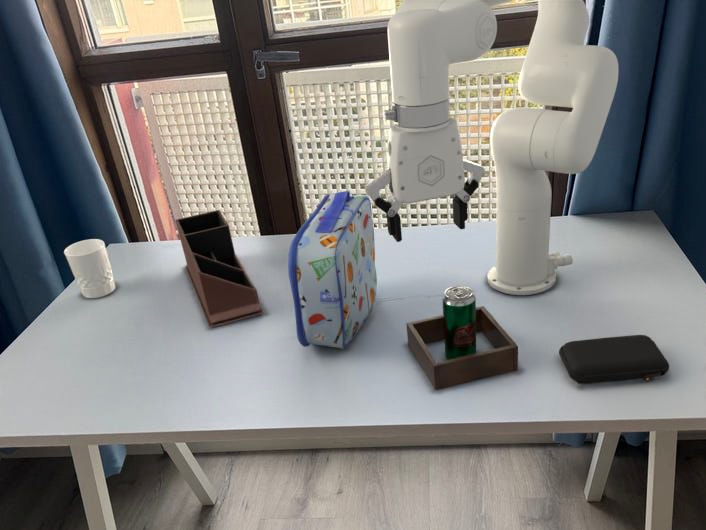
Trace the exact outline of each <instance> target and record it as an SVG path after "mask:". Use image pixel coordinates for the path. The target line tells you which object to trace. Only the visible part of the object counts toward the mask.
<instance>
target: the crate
mask: <svg viewBox="0 0 706 530" xmlns="http://www.w3.org/2000/svg"><path fill="white" fill-rule="evenodd" d="M405 325H406V337H407V346H408V348H409V350H410V352H411V353H412V355H413V356H414V358H415V360H416V361H417V363H418V365H419V366H420V368H421V370H422V371H423V373H424V374H425V376H426V378H427V380H428V381H429V383H430V384H431V386H432V387H433V389H434V391H439V390H443V389H447V388H451V387H456V386H459V385H464V384H467V383H471V382H476V381H480V380H484V379H488V378H493V377H496V376H501V375H505V374H509V373H510V374H511V373H514V372H517V371H518V370H519V345H518V344H517V343H516V342H515V341H514V340H513V338H512V337H511V336H510V335H509V333H507V331H506V330H505V329H504V328H503V327H502V326H501V324H500V323H499V322H498V321H497V320H496V319H495V317H494V316H493V315H492V314H491V313H490V312H489V310H488V309H487V308H486V307H485V306H484V305H481V306H476V334H477V333H481V334H482V335H483V336H484V337H485V339H486V340H487V341H488V342H489V343H490V345H491V346H492V347H493V348H494V349H488V350H485V351H481V352H477V353H476V354H472V355H467V356H463V357H459V358H454V359H450V360H447V359H446V360H442V361H438V362H437V360H436V359H435V357H434V356H433V354H432V353H431V351H430V350H429V348H428V347H427V345H429V344H435V343H438V342H443V341H444V323H443V314H440V315H435V316H432V317H428V318H423V319H419V320H414V321H411V322H406V324H405Z"/></svg>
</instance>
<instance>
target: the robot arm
mask: <svg viewBox="0 0 706 530" xmlns="http://www.w3.org/2000/svg"><path fill="white" fill-rule="evenodd" d="M510 2H513V0H402V1H401V2H400V4H399V5H398V7H397V9H396V10H395V13H394V14H393V15H392V16H391V17H390V19H389V20H388V23H387V42H388V55H389V56H388V57H389V68H390V69H389V70H390V71H389V72H390V82H391V95H392V101H391V106H390V108H388V109H385V110H383V111H382V116H383V117H382V118H383V120H384V122H386V121H390V122H393V124H391V125H390V126H389V134H388V143H387V144H388V146H387V170H385V171H384V172H383V173H381V174H380V175H379V176H377V177H376V178H375V179H373V180H372V181H371V182H369V183H368V184H367V185H366V186H365V188H364V190H365V192H366V194H367V196H369V199H370V200H371V201H372V202H373V204H374V205H375V206H376V207H377V208H378V209H379V210H381V211H382V212H384V213H385V215H386V224H387V225H386V226H387V232H388V235H389V236H392V238H393V239H394V240H395V242H396V243H400V242H401V241H402V240H403V237H402V236H403V234H402V222H401V221H402V220H401V215H400V214H399V213H398V212H399V210H400V209H401V207H402V206H403V204H406V205H407V204H413V203H421V202H424V201H425V202H426V201H431V200H437V199H441V198H446V197H450V196H453V198H452V221H453V222H452V223H453V224H454V225H455V226H456V227H457V228H458V229H459V230H465V229H466V221H468V203H469V202H470V201H471V197H472V195H473V194H474V193H475V192H476V191H477V189H478V188H479V186H480V185H479V184H480V182H481V180H482V178H483V175H484V173H485V167H483V166H482V165H481V164H479V163H476V162H473V161H469V160H468V159H464V155H463V148H462V142H461V135H460V130H459V126H458V121H457V119H455V118H453V117H452V116H451V105H450V104H451V100H450V66H451V65H456V64H464V63H472V62H475V61H477V60H479V59H481V58H483V56H485V55H486V54H487V53H488V52H489V51H490V50H491V48H492V46H493V45H494V43H495V40H496V37H497V32H498V22H497V21H498V20H497V18H496V14H495V12H494V11H493V9H492V8H496V7H498V6H499V7H500V6H502V5H504V4H507V3H510ZM537 6H538V9H537V18H536V22H535V25H534V29H533V31H532V35H531V38H530V41H529V45H528V48H527V50H526V54H525V57H524V60H523V63H522V66H521V70H520V73H519V77H518V93H519V95H520V97H521V98H522V99H524V100H525V101H526V102H528V103H530V104H536V105H541V106H549V107H561V108H571V109H572V110H571V111H565V110H553V109H552V110H551V109H549V108H548V109H546V108H535V107H514V108H513V107H512V108H509V109H506V110H504V111H503V112H502V113H500V114H499V115H498V116H497V117H496V118H495V120H494V121H493V123H492V127H491V130H490V149H491V154H492V159H493V165H494V171H495V184H496V185H495V186H496V187H495V188H496V200H495V201H496V202H495V205H496V206H495V209H496V213H495V217H496V218H495V236H496V237H495V254H496V255H495V265H494V266H492V268H490V269H489V271H488V273H487V282H488V284H489V285H490V287H491V288H493V290H496V291H498V292H500V293H502V294H508V295H512V296H531V295H537V294H540V293H543V292H546V291H547V290H549V289H551V288H552V287H553V286H554V285H555V284H556V282H557V272H556V271H555V270H558V267H565V266H568V265H572V264H573V262H574V260H573V256H572V255H571V253H568V254H564V255H560V252H559V251H554V252H550V237H551V235H550V234H551V233H550V232H551V215H552V214H551V213H552V195H553V193H552V186H551V181H550V179H549V177H548V174H547V173H546V172H552V173H558V174H567V175H576V174H581V173H582V172H584V171H585V170H586V169H587V168H588V167H589V166H590V165H591V163H592V160H593V158H594V156H595V155H596V152H597V149H598V146H599V142H600V139H601V137H602V133H603V131H604V129H605V128H604V127H605V124H606V122H607V118H608V116H609V113H610V110H611V106H612V103H613V100H614V98H615V95H616V91H617V87H618V83H619V82H618V81H619V73H620V72H619V61H618V58H617V56H616V54H615V53H614V52H613V50H611V49H610V48H608V47H606V46H601V45H595V44H593V45H590V44H585V39H586V36H587V32H588V30H589V26H590V15H589V11H588V9H587V5H586V4H585V1H584V0H537ZM465 171H466V172H469V173H470V174H469V178H467V180H466V179H465V177H466V175H465ZM465 180H466V181H465ZM386 186H388V190H389V192H390V194H389V195H388V196H387V198H386V199H385V198H383V197H382V196H381V195H380V191H381V190H382V189H383V188H385V187H386Z"/></svg>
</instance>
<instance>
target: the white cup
mask: <svg viewBox="0 0 706 530" xmlns="http://www.w3.org/2000/svg"><path fill="white" fill-rule="evenodd" d="M63 254H64V256H65V258H66V261H67V263H68V265H69V268H70V270H71V273H72V275H73V277H74V280H75V281H76V284H77V285H78V287H79V290H80V292H81V295H82V296H83V297H84V298H86V299H99V298H103V297H105V296H107V295H109V294H112V293H113V292H114V291H115V290H116V283H115V279H114V273H113V270H112V265H111V262H110V258H109V254H108V251H107V247H106V244H105V241H103V240H102V239H99V238H90V239H84V240H80V241H77V242H74V243H72V244H70V245H68V246H67V247H66V248H65V249H64V251H63Z"/></svg>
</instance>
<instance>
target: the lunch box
mask: <svg viewBox="0 0 706 530" xmlns="http://www.w3.org/2000/svg"><path fill="white" fill-rule="evenodd" d="M368 196H369V195H366V194H357V195H351V193H350V190H344V191H339V192H335V193H328V194H325V195H324V197H323V198H322V199H321V200H320V203H319V204H318V205H317V206H316V208H315V210H314V211H313V212H312V213H311V215H310V216H309V217H308V218H307V219H306V221H305V222H304V223H303V224H302V225H301V226H300V228H299V229H298V230H297V232H296V233H295V235H294V237H293V238H292V240H291V242H290V245H289V249H288V257H287V259H288V260H287V265H288V266H287V268H288V269H287V271H288V279H289V284H290V285H289V286H290V288H291V295H292V301H293V307H294V315H295V328H296V338H297V340H298V343H299V344H300V345H301V346H302V347H303V348H306V347H309V346H310V345H315V346H322V347H331V348H337V349H346V348H347V346H348V345H349V344H350V343H351V341H352V340H353V338H355V336H356V335H357V333H358V331H359V330H360V328H361V327H362V325H363V324H364V323H365V322H366V320H367V319H368V318H369V313H370V311H371V308H372V306H373V303H374V301H375V298H376V295H377V287H378V277H377V267H376V243H375V228H374V227H375V226H374V219H373V212H372V210H373V209H372V204H371V198H370V197H368Z"/></svg>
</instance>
